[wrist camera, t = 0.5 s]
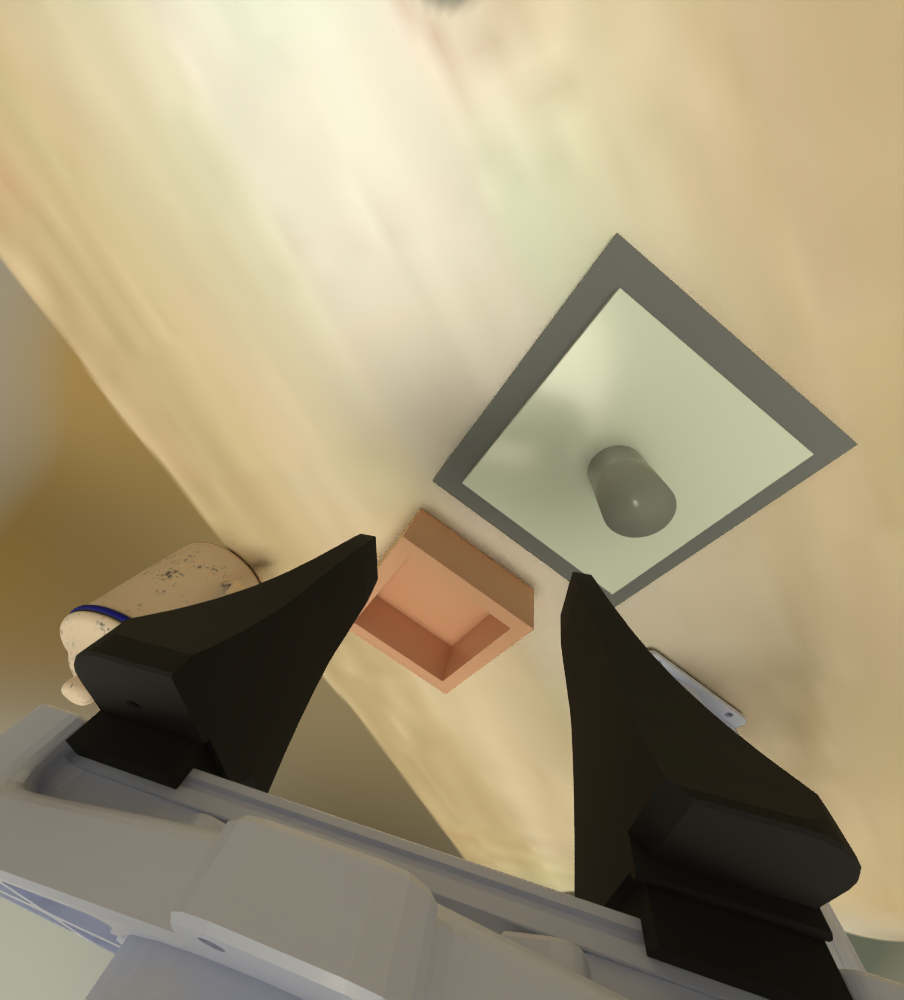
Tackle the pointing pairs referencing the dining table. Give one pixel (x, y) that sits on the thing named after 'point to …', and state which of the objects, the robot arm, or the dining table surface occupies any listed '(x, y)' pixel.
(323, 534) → the dining table surface
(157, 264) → the dining table surface
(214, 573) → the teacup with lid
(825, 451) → the mat
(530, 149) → the dining table surface
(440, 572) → the dish
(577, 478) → the lid
